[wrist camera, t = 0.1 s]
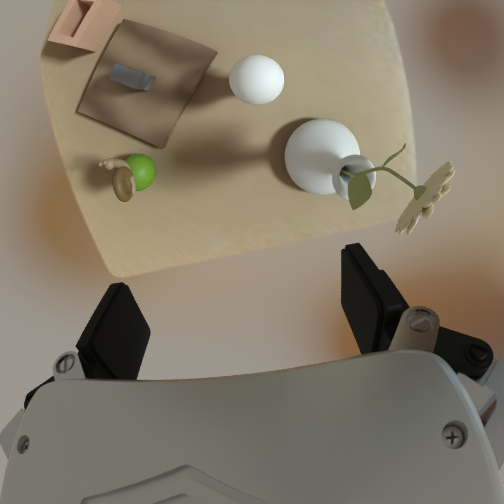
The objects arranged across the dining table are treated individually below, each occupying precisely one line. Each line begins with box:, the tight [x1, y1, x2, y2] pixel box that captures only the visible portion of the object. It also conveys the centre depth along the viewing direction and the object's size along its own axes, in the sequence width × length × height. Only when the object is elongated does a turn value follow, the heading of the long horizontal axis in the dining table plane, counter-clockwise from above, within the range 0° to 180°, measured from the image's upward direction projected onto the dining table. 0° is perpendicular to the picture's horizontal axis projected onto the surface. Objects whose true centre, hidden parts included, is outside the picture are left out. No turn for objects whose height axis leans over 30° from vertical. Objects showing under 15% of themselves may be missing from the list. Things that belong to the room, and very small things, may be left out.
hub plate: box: [78, 19, 218, 149], centre depth 29 cm, size 16×16×7 cm
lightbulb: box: [229, 55, 284, 105], centre depth 29 cm, size 6×6×11 cm
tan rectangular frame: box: [47, 0, 122, 52], centre depth 23 cm, size 7×9×6 cm
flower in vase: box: [285, 119, 455, 235], centre depth 27 cm, size 13×11×25 cm
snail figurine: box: [98, 154, 156, 202], centre depth 33 cm, size 5×6×12 cm
